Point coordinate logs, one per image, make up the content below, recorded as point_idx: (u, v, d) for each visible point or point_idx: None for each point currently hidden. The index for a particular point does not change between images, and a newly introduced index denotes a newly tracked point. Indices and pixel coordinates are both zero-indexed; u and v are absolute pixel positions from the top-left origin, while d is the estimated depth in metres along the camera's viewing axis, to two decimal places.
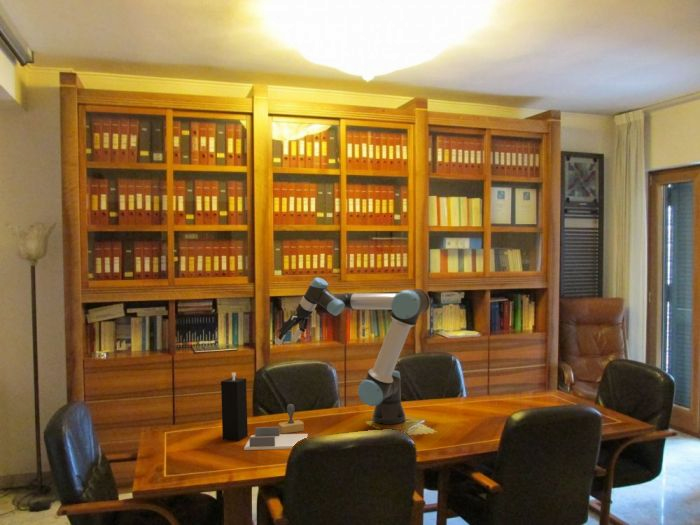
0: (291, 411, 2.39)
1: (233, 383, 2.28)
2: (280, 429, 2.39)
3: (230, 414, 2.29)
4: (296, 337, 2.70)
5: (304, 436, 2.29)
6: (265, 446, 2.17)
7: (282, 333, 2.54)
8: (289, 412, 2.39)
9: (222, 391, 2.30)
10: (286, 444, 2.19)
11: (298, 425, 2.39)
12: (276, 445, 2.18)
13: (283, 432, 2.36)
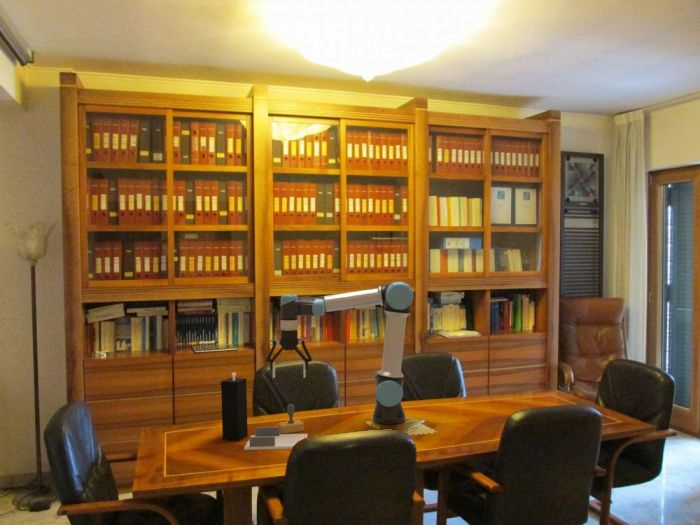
0: (291, 411, 2.39)
1: (233, 383, 2.28)
2: (280, 429, 2.39)
3: (230, 414, 2.29)
4: None
5: (304, 436, 2.29)
6: (265, 446, 2.17)
7: None
8: (289, 412, 2.39)
9: (222, 391, 2.30)
10: (286, 444, 2.19)
11: (298, 425, 2.39)
12: (276, 445, 2.18)
13: (283, 432, 2.36)
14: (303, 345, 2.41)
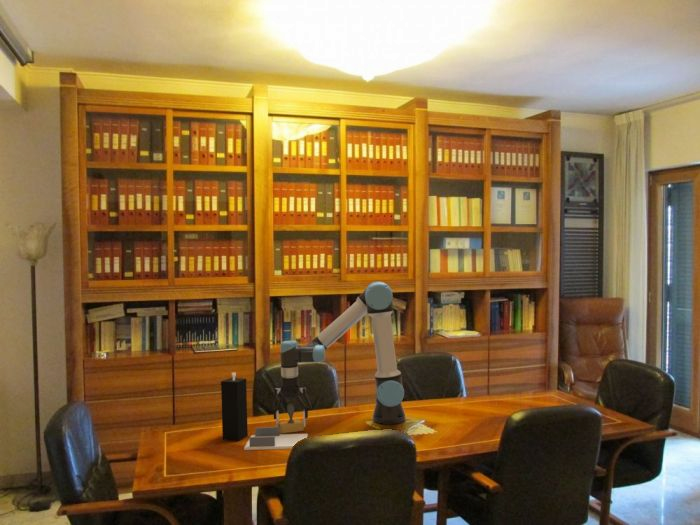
0: (291, 410, 2.39)
1: (233, 383, 2.28)
2: (280, 429, 2.39)
3: (230, 414, 2.29)
4: None
5: (304, 436, 2.29)
6: (265, 446, 2.17)
7: (269, 409, 2.39)
8: (289, 412, 2.39)
9: (222, 391, 2.30)
10: (286, 444, 2.19)
11: (298, 425, 2.39)
12: (276, 445, 2.18)
13: (283, 432, 2.36)
14: (304, 393, 2.40)
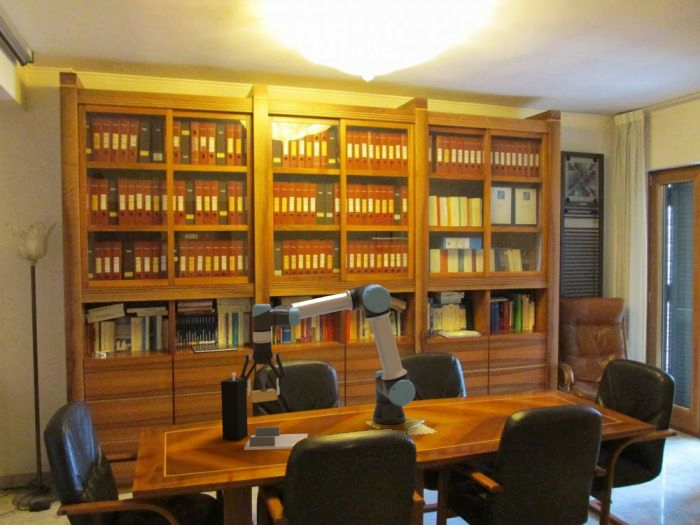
0: (263, 378, 2.23)
1: (233, 383, 2.28)
2: (251, 398, 2.23)
3: (230, 414, 2.29)
4: (277, 389, 2.24)
5: (304, 436, 2.29)
6: (265, 446, 2.17)
7: (240, 377, 2.24)
8: (261, 379, 2.24)
9: (222, 391, 2.30)
10: (286, 444, 2.19)
11: (271, 393, 2.23)
12: (276, 445, 2.18)
13: (255, 400, 2.20)
14: (277, 359, 2.24)
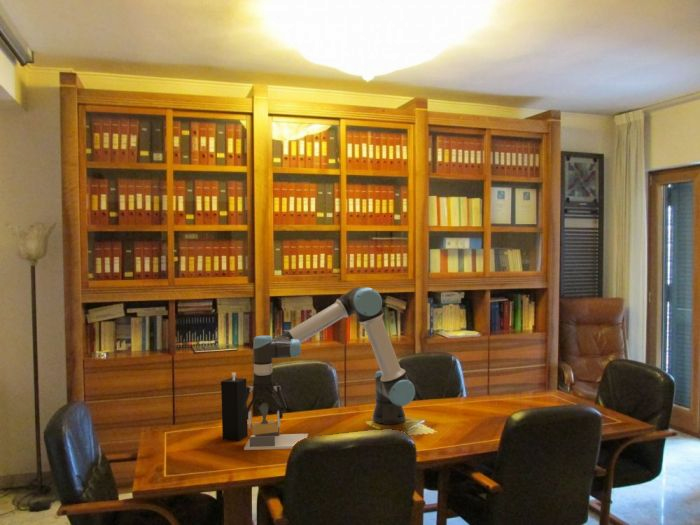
0: (264, 410, 2.23)
1: (233, 383, 2.28)
2: (252, 430, 2.23)
3: (230, 414, 2.29)
4: None
5: (304, 436, 2.29)
6: (265, 446, 2.17)
7: (241, 409, 2.24)
8: (262, 412, 2.23)
9: (222, 391, 2.30)
10: (286, 444, 2.19)
11: (272, 425, 2.23)
12: (276, 445, 2.18)
13: (255, 433, 2.20)
14: (278, 391, 2.24)
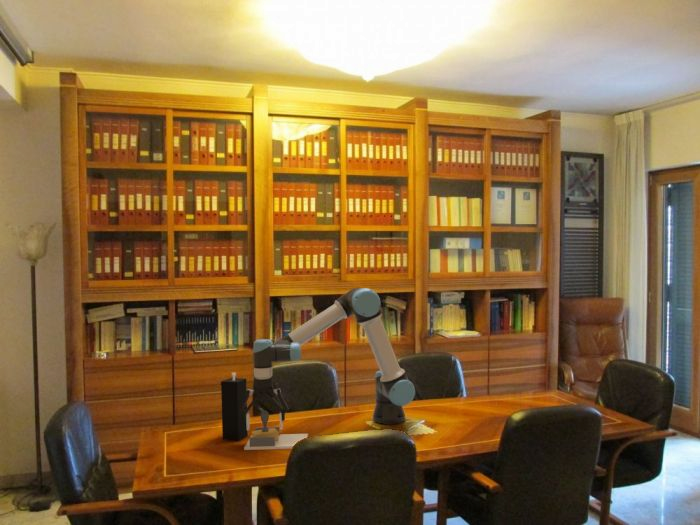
0: (265, 418, 2.23)
1: (233, 383, 2.28)
2: None
3: (230, 414, 2.29)
4: (280, 423, 2.24)
5: (304, 436, 2.29)
6: (265, 446, 2.17)
7: (239, 411, 2.24)
8: (263, 420, 2.23)
9: (222, 391, 2.30)
10: (286, 444, 2.19)
11: (273, 434, 2.23)
12: (276, 445, 2.18)
13: None
14: (279, 394, 2.24)
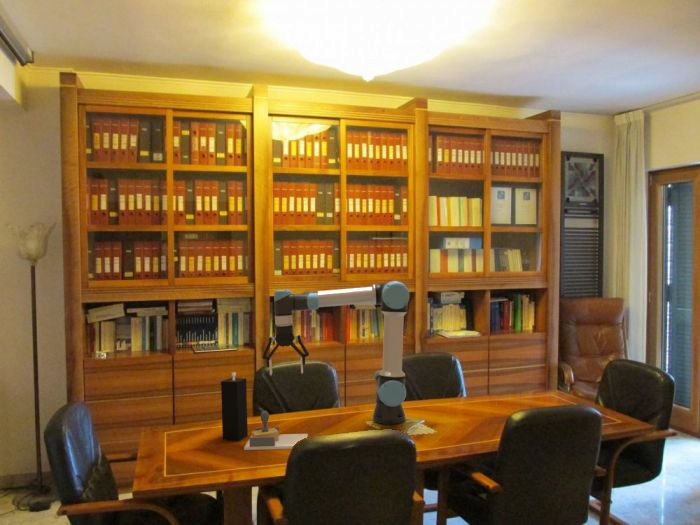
0: (265, 418, 2.23)
1: (233, 383, 2.28)
2: None
3: (230, 414, 2.29)
4: (301, 367, 2.38)
5: (304, 436, 2.29)
6: (265, 446, 2.17)
7: (262, 357, 2.37)
8: (263, 420, 2.23)
9: (222, 391, 2.30)
10: (286, 444, 2.19)
11: (273, 434, 2.23)
12: (276, 445, 2.18)
13: None
14: (299, 340, 2.38)
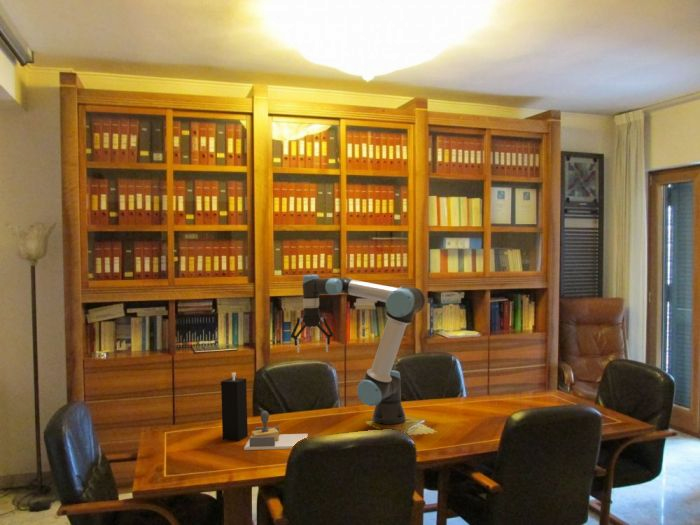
0: (265, 418, 2.23)
1: (233, 383, 2.28)
2: None
3: (230, 414, 2.29)
4: None
5: (304, 436, 2.29)
6: (265, 446, 2.17)
7: None
8: (263, 420, 2.23)
9: (222, 391, 2.30)
10: (286, 444, 2.19)
11: (273, 434, 2.23)
12: (276, 445, 2.18)
13: None
14: (325, 321, 2.58)
